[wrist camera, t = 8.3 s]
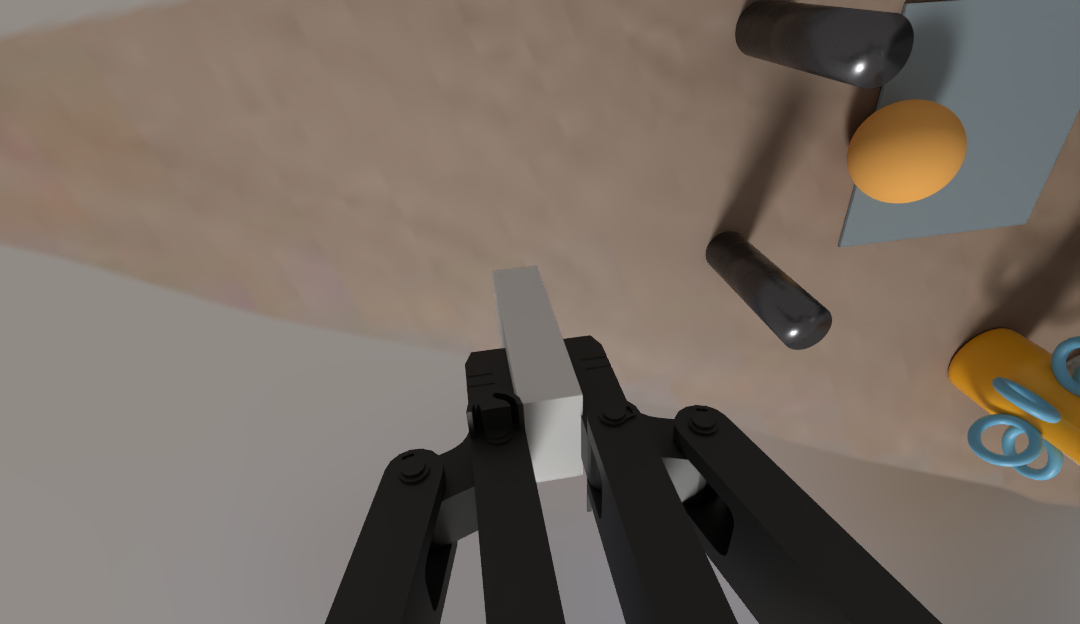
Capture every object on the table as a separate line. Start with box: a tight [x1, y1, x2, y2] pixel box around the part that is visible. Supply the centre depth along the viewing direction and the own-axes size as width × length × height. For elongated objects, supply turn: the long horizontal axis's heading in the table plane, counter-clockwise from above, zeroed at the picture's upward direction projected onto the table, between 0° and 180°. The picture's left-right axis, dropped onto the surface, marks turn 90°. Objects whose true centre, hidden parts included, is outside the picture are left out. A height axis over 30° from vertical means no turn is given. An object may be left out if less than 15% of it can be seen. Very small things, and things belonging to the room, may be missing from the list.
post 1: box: [735, 0, 914, 89], centre depth 24 cm, size 3×3×9 cm
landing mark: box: [838, 0, 1080, 247], centre depth 33 cm, size 14×14×1 cm
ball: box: [847, 99, 967, 203], centre depth 30 cm, size 6×6×6 cm
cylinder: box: [948, 328, 1080, 480], centre depth 39 cm, size 12×10×15 cm
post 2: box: [706, 231, 832, 350], centre depth 31 cm, size 3×3×9 cm
